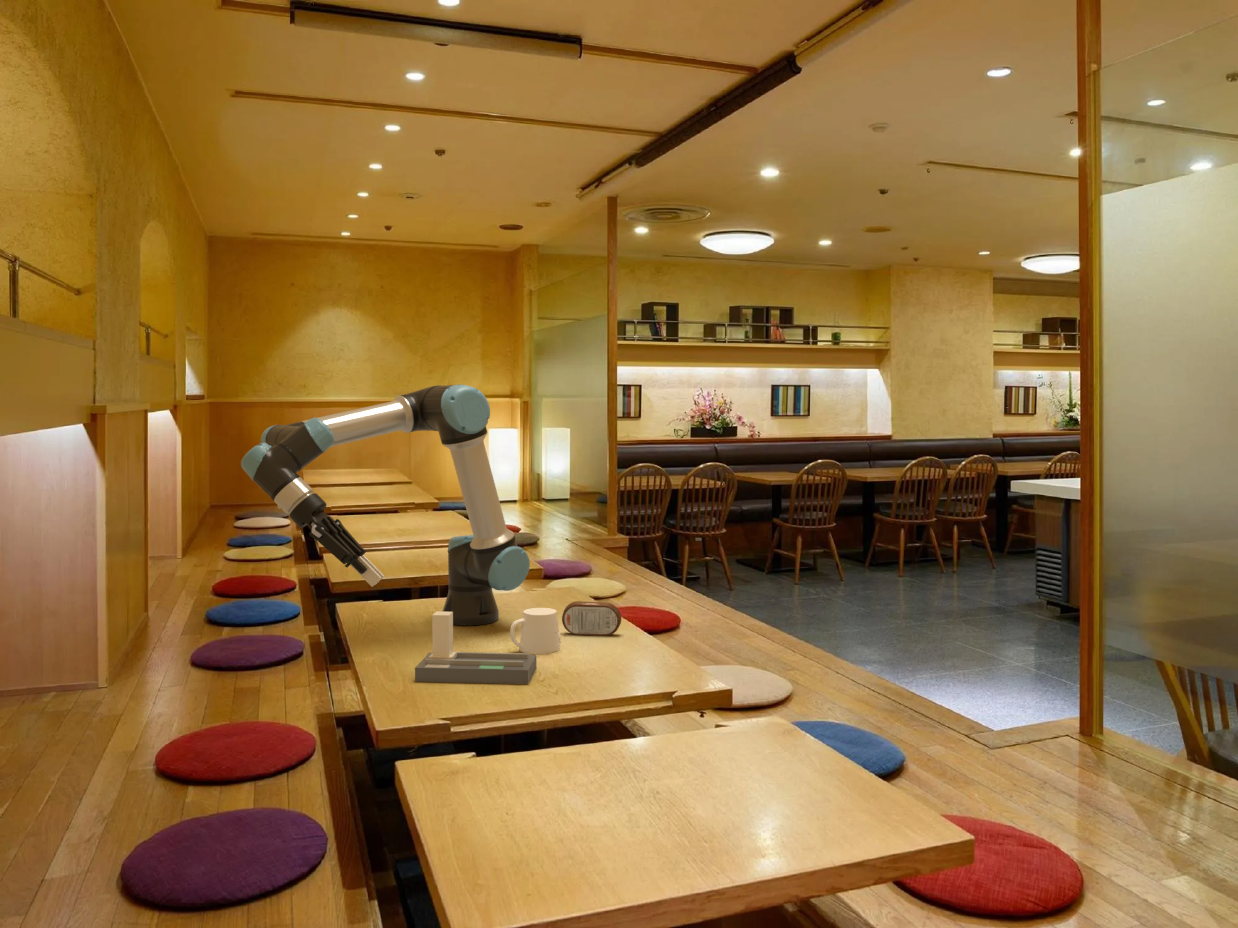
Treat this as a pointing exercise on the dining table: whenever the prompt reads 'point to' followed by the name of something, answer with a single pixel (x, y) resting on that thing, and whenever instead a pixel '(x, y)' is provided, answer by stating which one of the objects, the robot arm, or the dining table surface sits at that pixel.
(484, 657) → the switch panel
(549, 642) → the mug
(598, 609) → the tin
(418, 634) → the dining table surface
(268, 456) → the robot arm
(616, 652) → the dining table surface
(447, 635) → the slider tab
